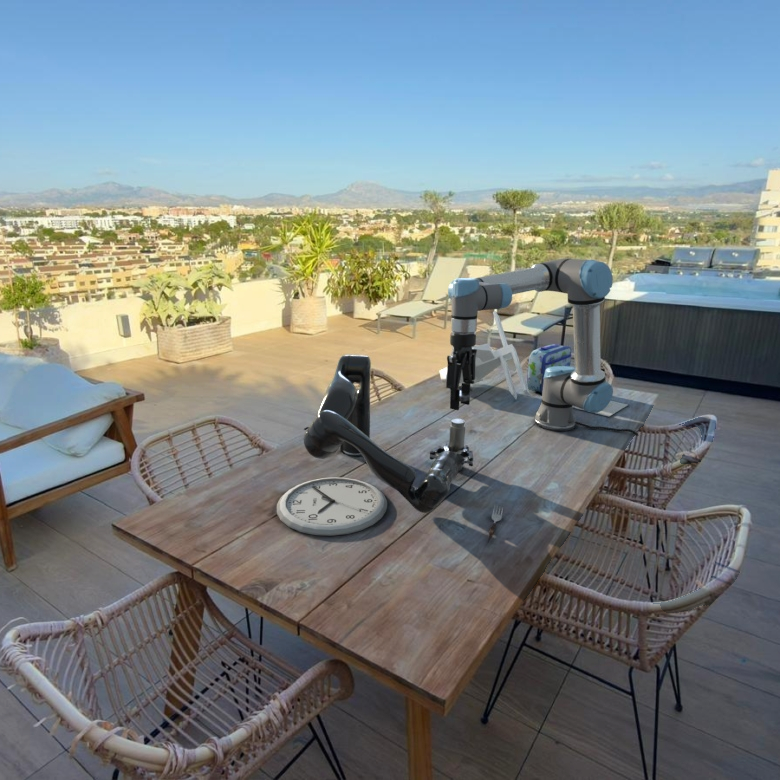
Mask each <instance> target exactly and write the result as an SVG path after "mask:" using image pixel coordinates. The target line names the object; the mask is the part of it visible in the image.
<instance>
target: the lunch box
mask: <svg viewBox="0 0 780 780" xmlns="http://www.w3.org/2000/svg"><path fill="white" fill-rule="evenodd" d="M571 361H572V348H571V347H570V346H567V345H566V346H565V345H561V344H556V343H555V344H554V343H553V344H548V345H545V346H541V347H539V348H536V349H534V350H532V351H531V353H530V355H529V357H528V363H527V375H526V384H527V387H528V390H529V391H532V392H533V391H534V392H539V393H540V394H542V390H543V379H544V374H545V370H546V369H547V368H549V367H555V366H569V367H571Z"/></svg>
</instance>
